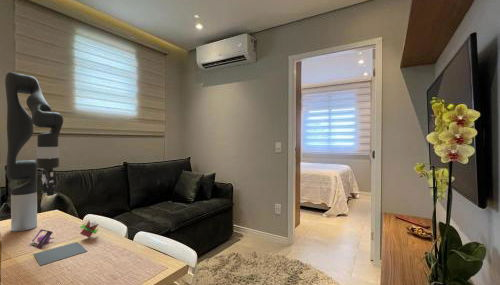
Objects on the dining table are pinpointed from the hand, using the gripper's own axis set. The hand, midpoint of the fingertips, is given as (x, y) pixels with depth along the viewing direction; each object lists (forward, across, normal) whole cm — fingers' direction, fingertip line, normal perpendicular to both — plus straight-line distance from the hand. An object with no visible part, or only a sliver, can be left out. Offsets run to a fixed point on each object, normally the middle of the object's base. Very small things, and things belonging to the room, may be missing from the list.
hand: (48, 194), depth 105 cm
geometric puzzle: (+20, +13, +12) cm, 27 cm away
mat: (+20, +21, 0) cm, 29 cm away
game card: (+18, +9, -1) cm, 20 cm away
